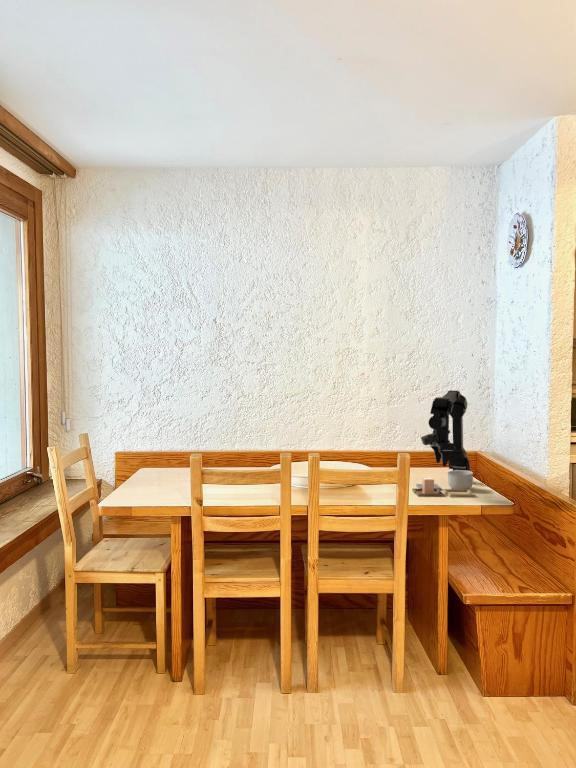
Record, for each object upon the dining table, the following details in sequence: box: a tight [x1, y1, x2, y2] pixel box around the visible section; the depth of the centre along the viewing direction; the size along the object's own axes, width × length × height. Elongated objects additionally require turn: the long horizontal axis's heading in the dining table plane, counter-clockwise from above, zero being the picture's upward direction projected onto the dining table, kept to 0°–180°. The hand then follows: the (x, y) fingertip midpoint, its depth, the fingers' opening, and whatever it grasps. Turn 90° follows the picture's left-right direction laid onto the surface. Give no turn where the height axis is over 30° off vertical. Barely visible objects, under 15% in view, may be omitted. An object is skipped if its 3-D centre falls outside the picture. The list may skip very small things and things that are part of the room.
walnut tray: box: [412, 488, 445, 498], centre depth 279 cm, size 11×11×2 cm
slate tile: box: [416, 483, 443, 492], centre depth 290 cm, size 9×9×2 cm
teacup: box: [447, 470, 474, 490], centre depth 292 cm, size 14×11×8 cm
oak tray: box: [442, 488, 477, 498], centre depth 279 cm, size 11×11×2 cm
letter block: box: [421, 477, 435, 494], centre depth 279 cm, size 4×4×6 cm
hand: (440, 464), depth 278 cm, fingers open, 9 cm apart
